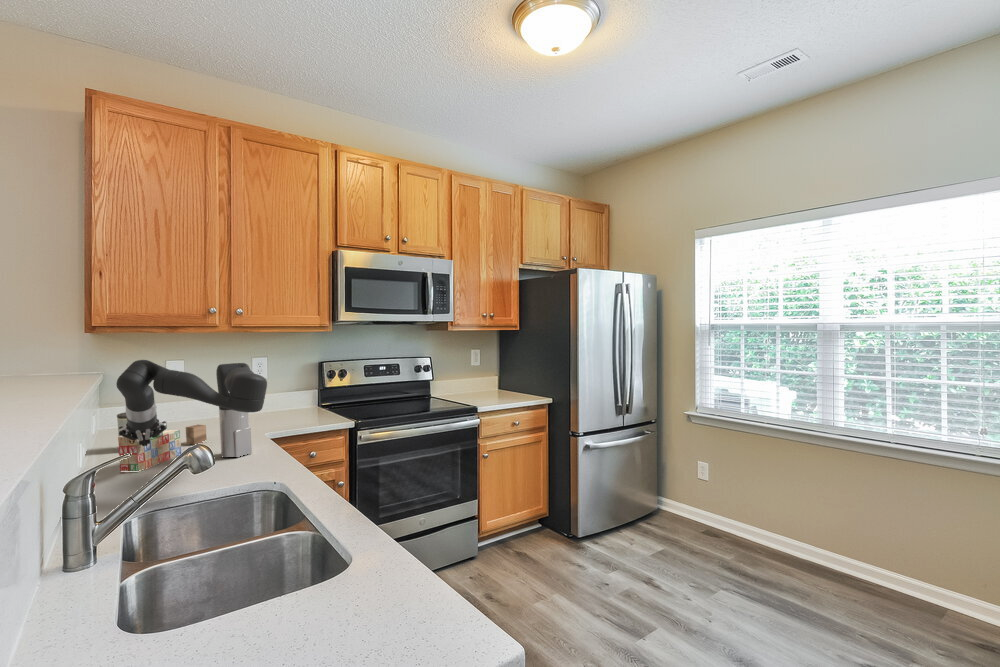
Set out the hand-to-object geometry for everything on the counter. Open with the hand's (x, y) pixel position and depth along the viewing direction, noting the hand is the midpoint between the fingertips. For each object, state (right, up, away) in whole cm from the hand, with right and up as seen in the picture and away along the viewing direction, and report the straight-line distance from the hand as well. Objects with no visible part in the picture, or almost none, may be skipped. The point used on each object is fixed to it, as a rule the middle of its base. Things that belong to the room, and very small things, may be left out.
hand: (145, 443), depth 162 cm
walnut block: (-5, -8, +36) cm, 37 cm away
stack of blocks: (-4, -9, +9) cm, 14 cm away
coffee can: (-26, -9, +30) cm, 41 cm away
